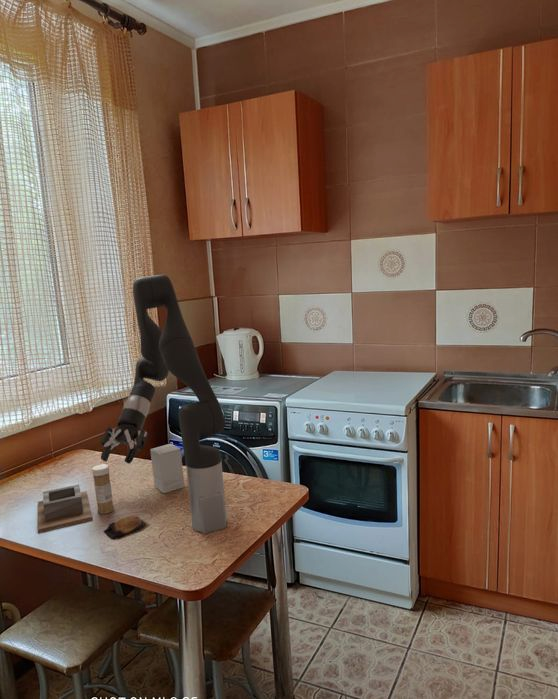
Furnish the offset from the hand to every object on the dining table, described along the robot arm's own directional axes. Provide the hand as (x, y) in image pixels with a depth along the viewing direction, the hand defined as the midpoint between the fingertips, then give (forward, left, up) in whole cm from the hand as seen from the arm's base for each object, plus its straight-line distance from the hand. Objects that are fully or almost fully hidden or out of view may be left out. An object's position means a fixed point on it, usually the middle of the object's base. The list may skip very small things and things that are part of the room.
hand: (115, 461), depth 162 cm
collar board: (+1, +16, -12) cm, 20 cm away
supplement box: (+2, -15, -13) cm, 20 cm away
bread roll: (-19, +1, -13) cm, 23 cm away
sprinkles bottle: (-5, +5, -13) cm, 14 cm away
